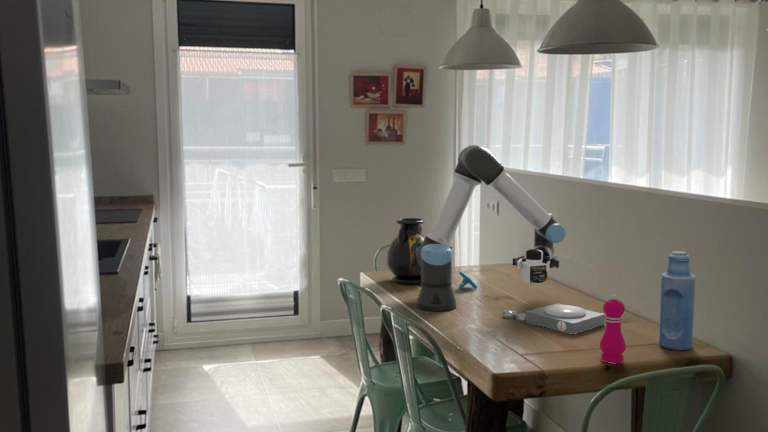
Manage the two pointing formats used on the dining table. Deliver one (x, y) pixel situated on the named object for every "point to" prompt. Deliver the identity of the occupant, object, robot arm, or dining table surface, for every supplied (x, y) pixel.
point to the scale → (565, 318)
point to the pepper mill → (613, 331)
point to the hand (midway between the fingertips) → (532, 266)
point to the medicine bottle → (534, 268)
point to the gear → (466, 281)
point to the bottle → (677, 303)
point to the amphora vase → (406, 252)
